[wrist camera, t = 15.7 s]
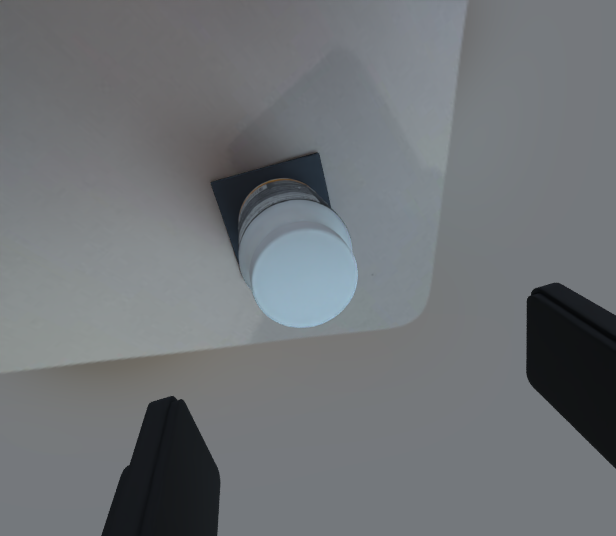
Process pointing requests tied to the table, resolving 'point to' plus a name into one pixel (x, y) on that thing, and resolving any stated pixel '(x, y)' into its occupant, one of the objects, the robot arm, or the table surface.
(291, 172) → the mat
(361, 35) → the table surface
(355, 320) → the table surface
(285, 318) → the pill bottle
